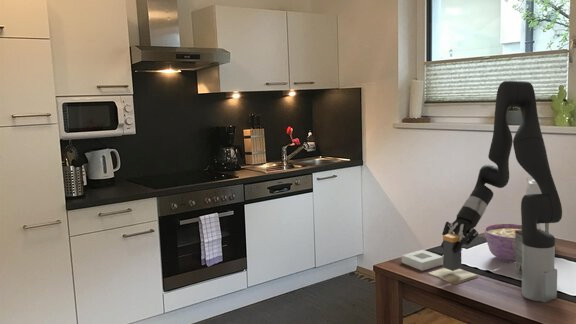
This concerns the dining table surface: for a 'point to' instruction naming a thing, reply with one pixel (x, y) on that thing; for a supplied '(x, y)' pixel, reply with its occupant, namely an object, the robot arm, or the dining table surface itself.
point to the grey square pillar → (451, 252)
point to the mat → (453, 275)
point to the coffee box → (519, 252)
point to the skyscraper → (534, 189)
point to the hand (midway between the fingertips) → (448, 249)
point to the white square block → (422, 259)
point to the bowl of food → (502, 240)
